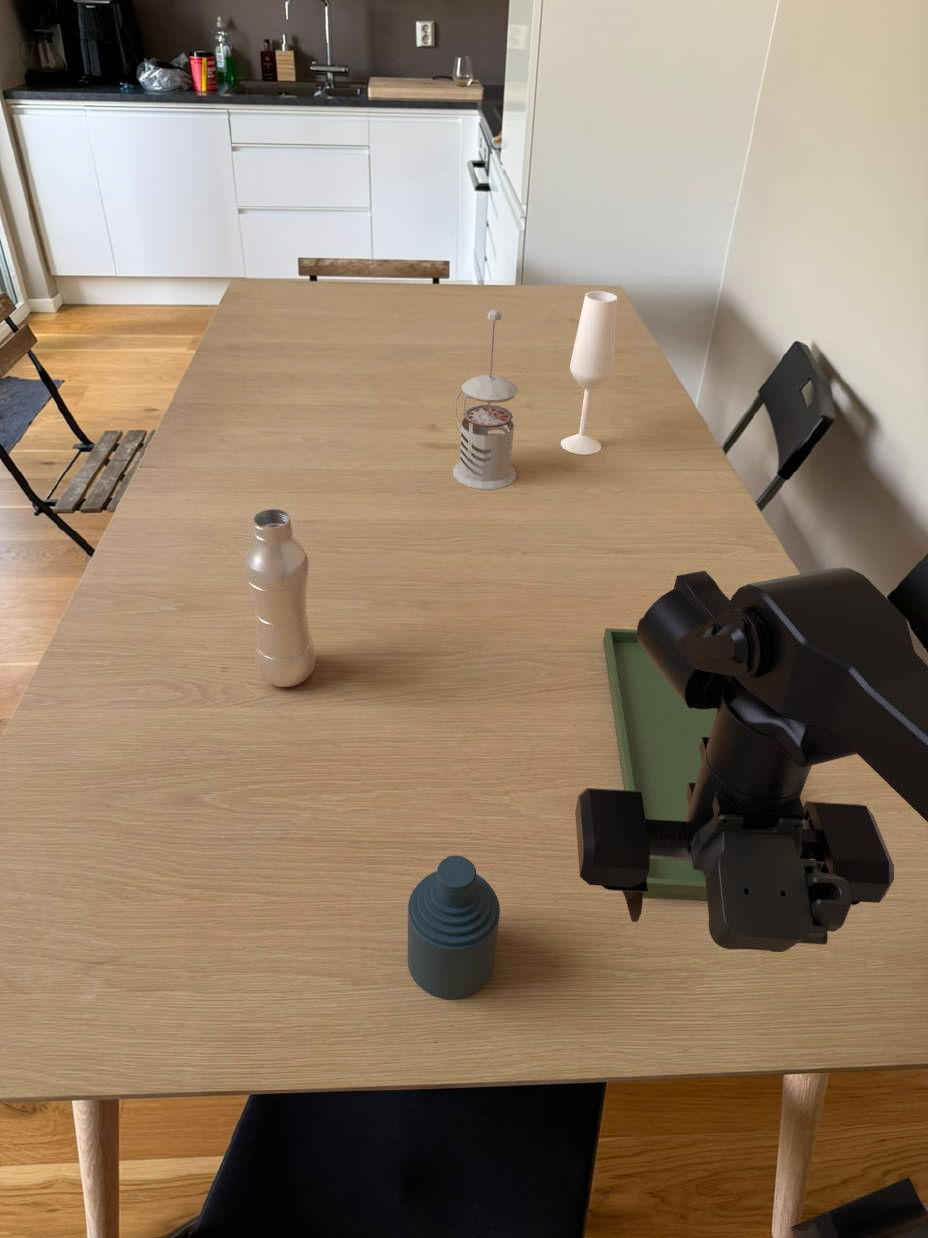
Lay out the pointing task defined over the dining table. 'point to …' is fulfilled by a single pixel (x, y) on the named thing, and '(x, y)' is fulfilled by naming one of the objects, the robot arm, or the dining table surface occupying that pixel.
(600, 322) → the champagne flute
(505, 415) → the french press
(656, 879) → the tray
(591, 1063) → the dining table surface
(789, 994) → the dining table surface
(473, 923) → the flask
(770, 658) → the robot arm
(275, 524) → the plastic bottle
